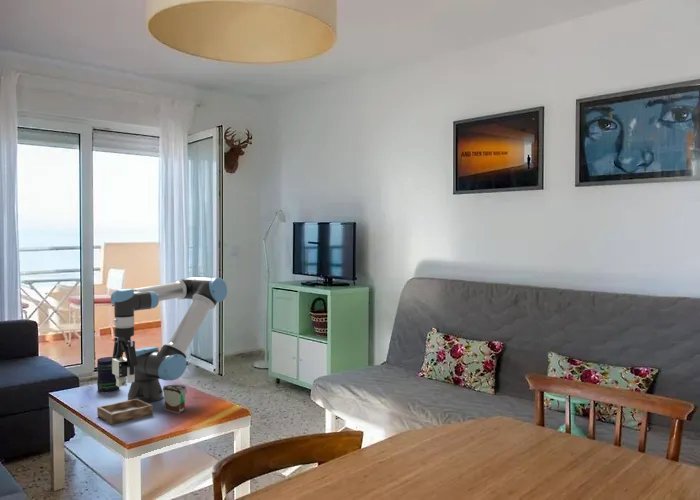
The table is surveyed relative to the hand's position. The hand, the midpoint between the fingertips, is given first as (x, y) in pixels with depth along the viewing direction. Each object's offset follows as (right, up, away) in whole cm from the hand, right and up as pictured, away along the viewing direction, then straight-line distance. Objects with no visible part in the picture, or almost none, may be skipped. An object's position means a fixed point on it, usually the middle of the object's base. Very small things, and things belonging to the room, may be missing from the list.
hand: (124, 379), depth 234 cm
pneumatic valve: (-1, -3, 0) cm, 3 cm away
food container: (+19, -15, +9) cm, 26 cm away
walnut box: (0, -15, 0) cm, 15 cm away
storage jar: (-23, -14, +39) cm, 48 cm away
